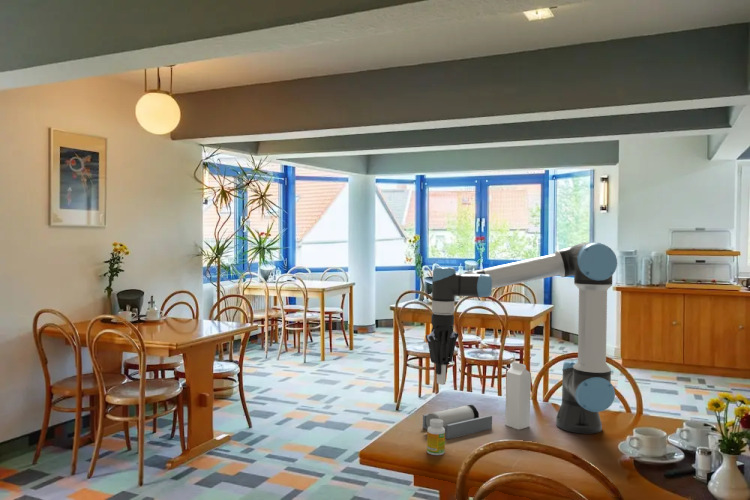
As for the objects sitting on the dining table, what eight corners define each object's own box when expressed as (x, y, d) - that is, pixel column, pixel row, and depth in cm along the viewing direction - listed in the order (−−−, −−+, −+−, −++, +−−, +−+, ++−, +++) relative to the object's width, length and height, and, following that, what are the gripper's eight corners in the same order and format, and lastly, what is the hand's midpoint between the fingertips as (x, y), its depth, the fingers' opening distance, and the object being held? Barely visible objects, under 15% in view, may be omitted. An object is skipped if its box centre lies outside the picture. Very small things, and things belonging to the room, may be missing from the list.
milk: (518, 430, 197) (520, 366, 196) (504, 425, 202) (506, 362, 201) (529, 426, 200) (531, 364, 200) (515, 421, 205) (517, 360, 205)
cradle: (491, 428, 197) (492, 415, 197) (448, 439, 186) (448, 425, 186) (465, 418, 208) (465, 406, 208) (422, 427, 197) (423, 414, 196)
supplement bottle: (439, 457, 171) (440, 424, 170) (423, 453, 173) (424, 421, 173) (447, 451, 175) (448, 419, 175) (431, 447, 178) (432, 416, 178)
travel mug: (431, 437, 189) (474, 426, 201) (440, 425, 186) (483, 415, 198) (422, 421, 193) (464, 411, 205) (431, 409, 190) (473, 400, 202)
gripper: (449, 310, 198) (448, 378, 199) (420, 313, 191) (418, 383, 191) (465, 313, 192) (463, 383, 193) (435, 315, 185) (433, 388, 185)
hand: (441, 383), depth 192 cm, fingers closed
